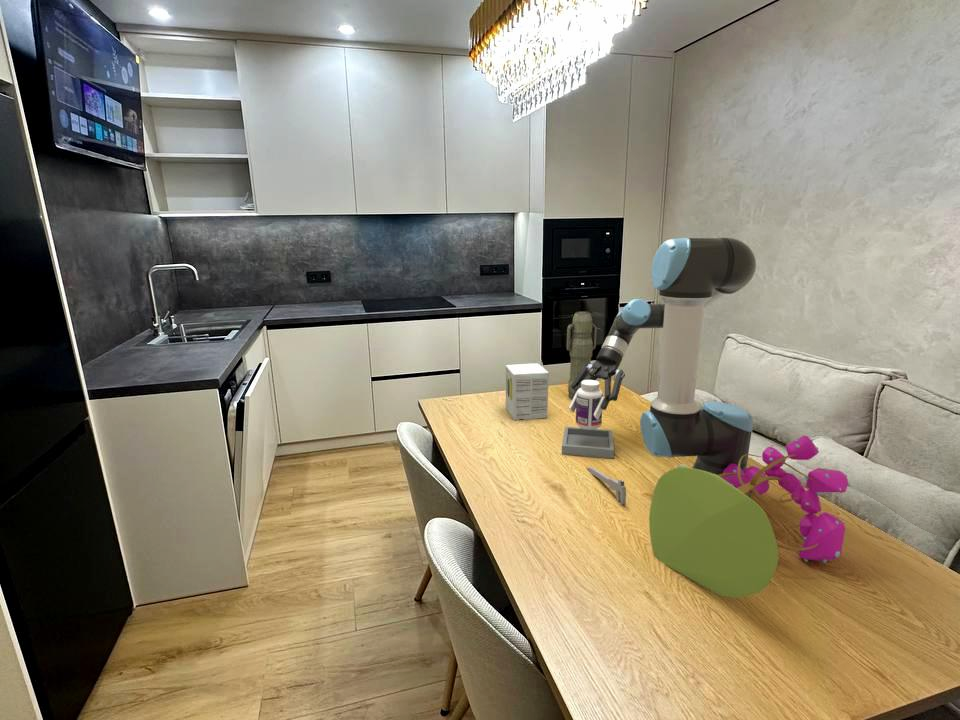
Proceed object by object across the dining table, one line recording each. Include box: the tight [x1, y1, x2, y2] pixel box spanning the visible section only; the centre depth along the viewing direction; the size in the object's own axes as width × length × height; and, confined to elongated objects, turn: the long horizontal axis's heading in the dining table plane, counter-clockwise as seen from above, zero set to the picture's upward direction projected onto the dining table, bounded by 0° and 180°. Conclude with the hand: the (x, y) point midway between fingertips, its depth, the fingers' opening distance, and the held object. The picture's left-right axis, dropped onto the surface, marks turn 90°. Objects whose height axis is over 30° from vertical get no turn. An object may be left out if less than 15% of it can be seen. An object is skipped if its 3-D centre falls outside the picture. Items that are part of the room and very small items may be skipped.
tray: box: [561, 426, 615, 459], centre depth 158 cm, size 15×15×3 cm
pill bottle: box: [575, 380, 604, 429], centre depth 156 cm, size 8×8×14 cm
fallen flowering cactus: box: [648, 434, 852, 598], centre depth 104 cm, size 30×28×35 cm
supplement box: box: [505, 362, 550, 421], centre depth 185 cm, size 13×13×18 cm
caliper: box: [586, 466, 627, 506], centre depth 133 cm, size 20×1×6 cm, turn 14°
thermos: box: [566, 310, 598, 400], centre depth 199 cm, size 9×12×35 cm
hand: (583, 413), depth 154 cm, fingers closed on pill bottle, 8 cm apart
